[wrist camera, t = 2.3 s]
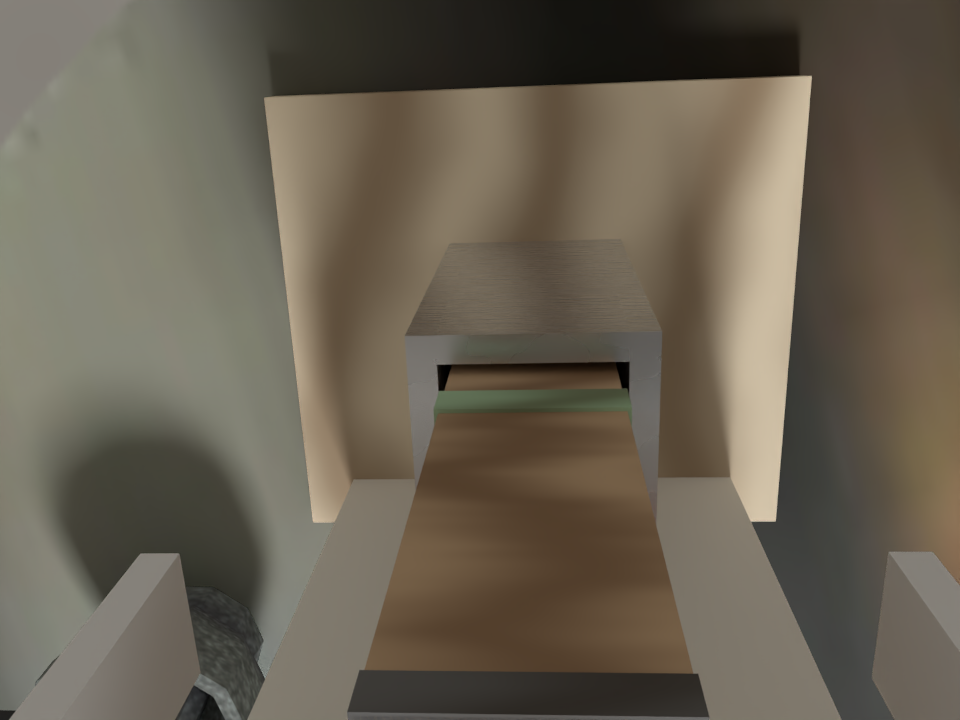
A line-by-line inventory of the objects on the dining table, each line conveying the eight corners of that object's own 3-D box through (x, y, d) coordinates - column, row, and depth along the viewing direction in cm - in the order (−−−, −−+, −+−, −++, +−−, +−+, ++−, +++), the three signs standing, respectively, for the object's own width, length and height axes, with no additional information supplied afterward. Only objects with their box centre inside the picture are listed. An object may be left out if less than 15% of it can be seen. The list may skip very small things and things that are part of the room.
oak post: (594, 267, 33) (713, 713, 11) (594, 380, 35) (698, 981, 12) (475, 270, 34) (342, 709, 11) (480, 381, 35) (371, 969, 12)
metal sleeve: (620, 238, 33) (662, 331, 22) (618, 398, 35) (655, 557, 24) (449, 243, 34) (404, 336, 22) (457, 400, 36) (420, 557, 25)
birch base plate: (800, 75, 32) (811, 76, 31) (766, 504, 38) (775, 521, 37) (275, 96, 34) (264, 97, 32) (321, 505, 40) (313, 522, 38)
